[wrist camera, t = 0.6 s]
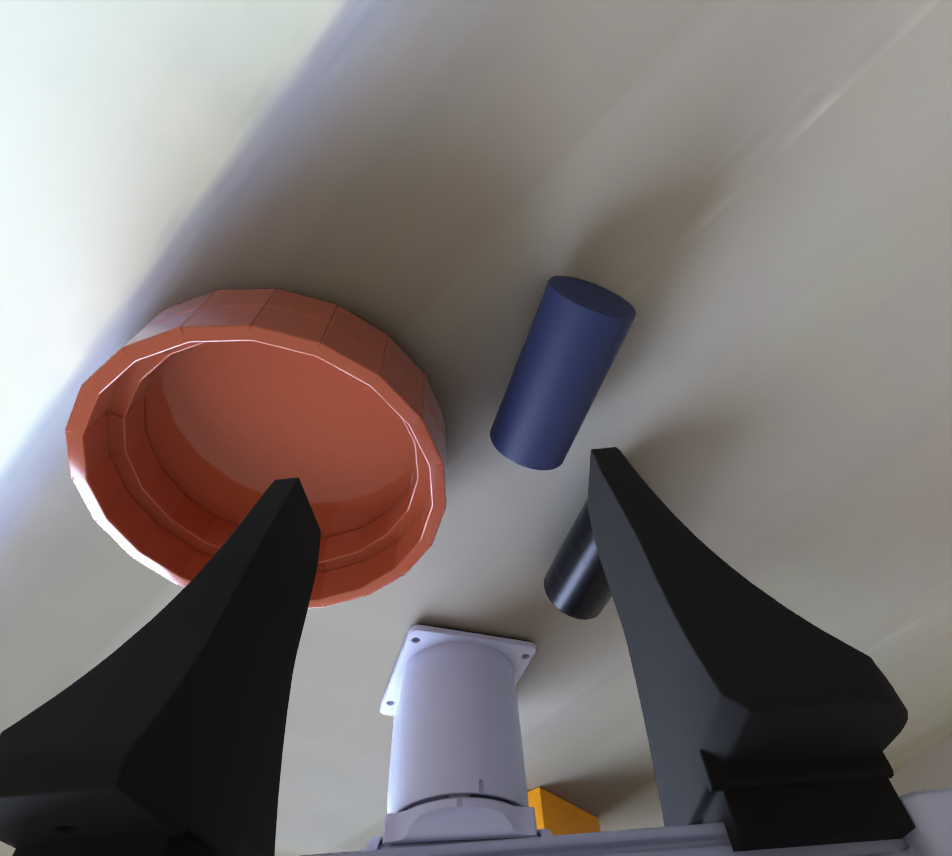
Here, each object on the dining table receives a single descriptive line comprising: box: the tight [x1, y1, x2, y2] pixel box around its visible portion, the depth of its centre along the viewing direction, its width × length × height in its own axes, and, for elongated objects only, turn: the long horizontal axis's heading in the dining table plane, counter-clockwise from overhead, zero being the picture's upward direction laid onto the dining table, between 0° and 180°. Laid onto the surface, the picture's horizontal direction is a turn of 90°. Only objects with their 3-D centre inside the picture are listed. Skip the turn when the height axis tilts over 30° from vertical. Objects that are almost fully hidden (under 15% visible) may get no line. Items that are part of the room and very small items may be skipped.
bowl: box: [65, 289, 446, 608], centre depth 23 cm, size 14×14×4 cm
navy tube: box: [490, 276, 636, 470], centre depth 22 cm, size 7×3×3 cm, turn 163°
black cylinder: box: [544, 499, 612, 620], centre depth 28 cm, size 7×3×3 cm, turn 163°
